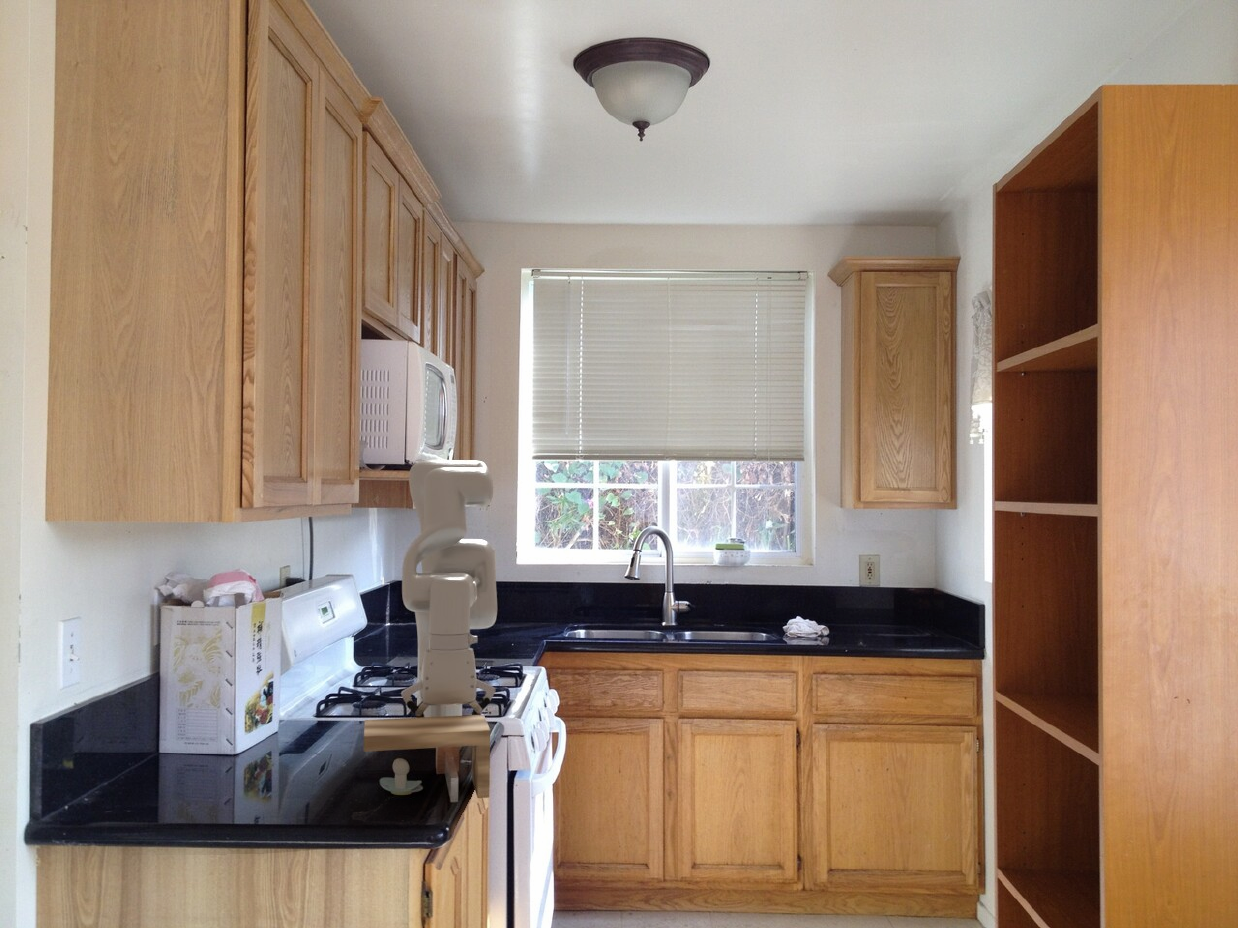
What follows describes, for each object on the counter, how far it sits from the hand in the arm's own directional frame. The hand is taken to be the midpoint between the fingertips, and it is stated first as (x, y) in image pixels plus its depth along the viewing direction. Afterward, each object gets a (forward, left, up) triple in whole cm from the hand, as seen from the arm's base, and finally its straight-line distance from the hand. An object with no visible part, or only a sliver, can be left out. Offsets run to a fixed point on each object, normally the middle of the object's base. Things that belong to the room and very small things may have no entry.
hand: (448, 735), depth 177 cm
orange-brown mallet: (+7, 0, -7) cm, 10 cm away
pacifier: (+10, -8, -7) cm, 15 cm away
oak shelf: (+11, -4, -7) cm, 13 cm away
